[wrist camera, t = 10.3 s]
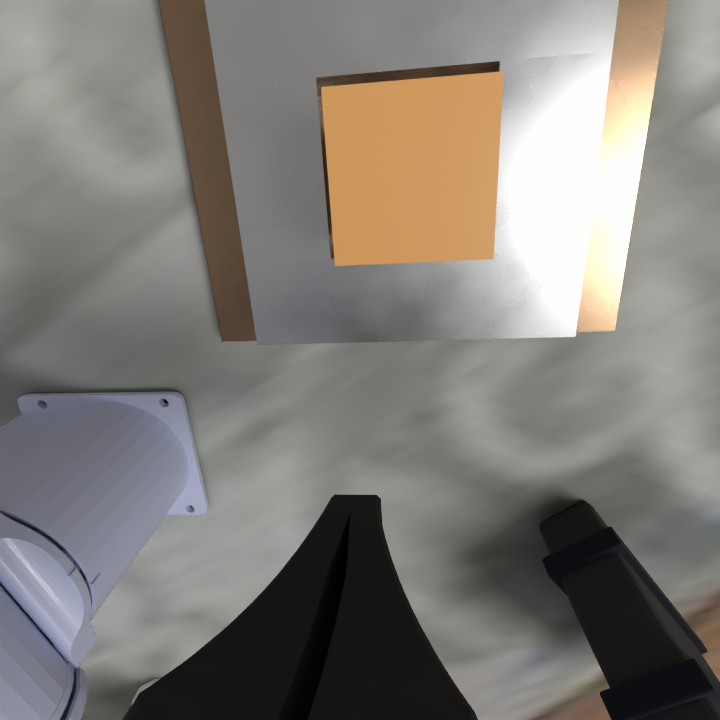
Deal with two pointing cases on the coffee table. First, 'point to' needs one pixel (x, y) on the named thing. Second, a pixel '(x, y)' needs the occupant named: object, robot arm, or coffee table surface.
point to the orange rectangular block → (413, 168)
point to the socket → (402, 62)
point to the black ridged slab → (629, 623)
